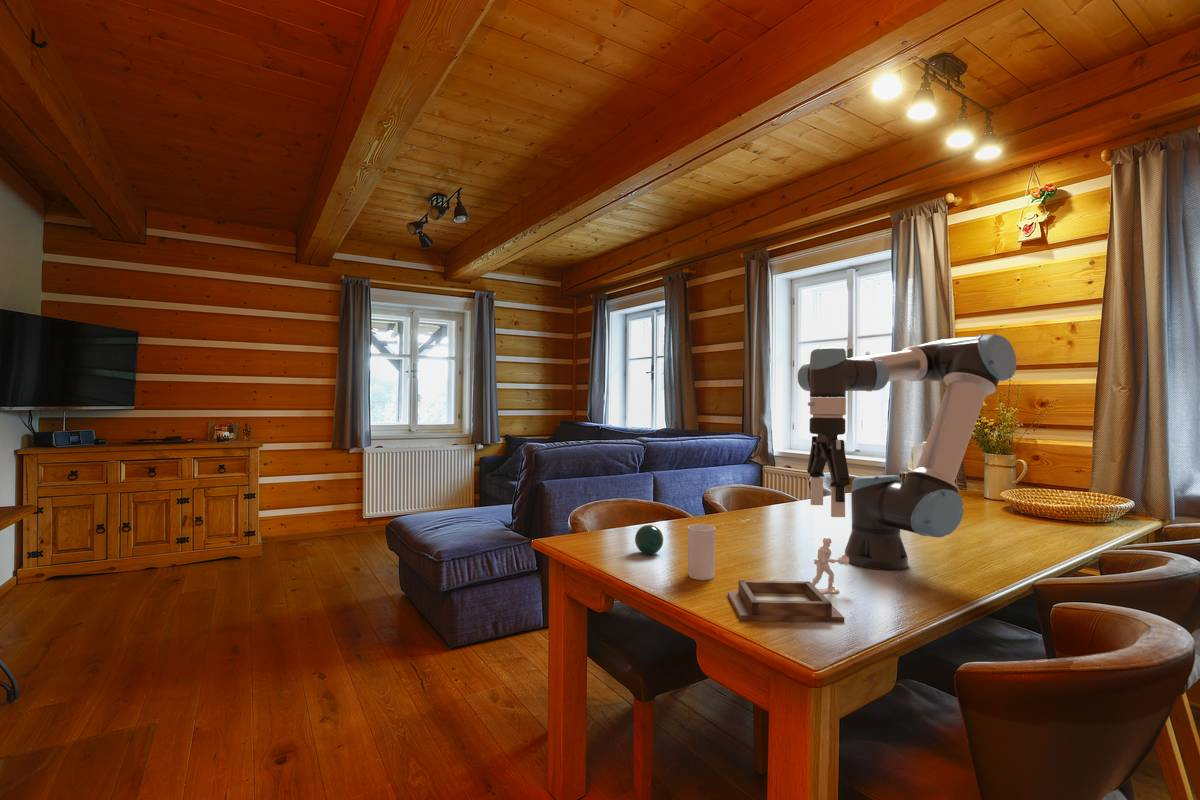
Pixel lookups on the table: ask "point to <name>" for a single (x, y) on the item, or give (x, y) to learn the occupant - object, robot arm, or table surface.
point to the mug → (701, 551)
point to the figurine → (827, 566)
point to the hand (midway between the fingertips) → (826, 510)
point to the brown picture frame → (782, 602)
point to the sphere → (649, 539)
